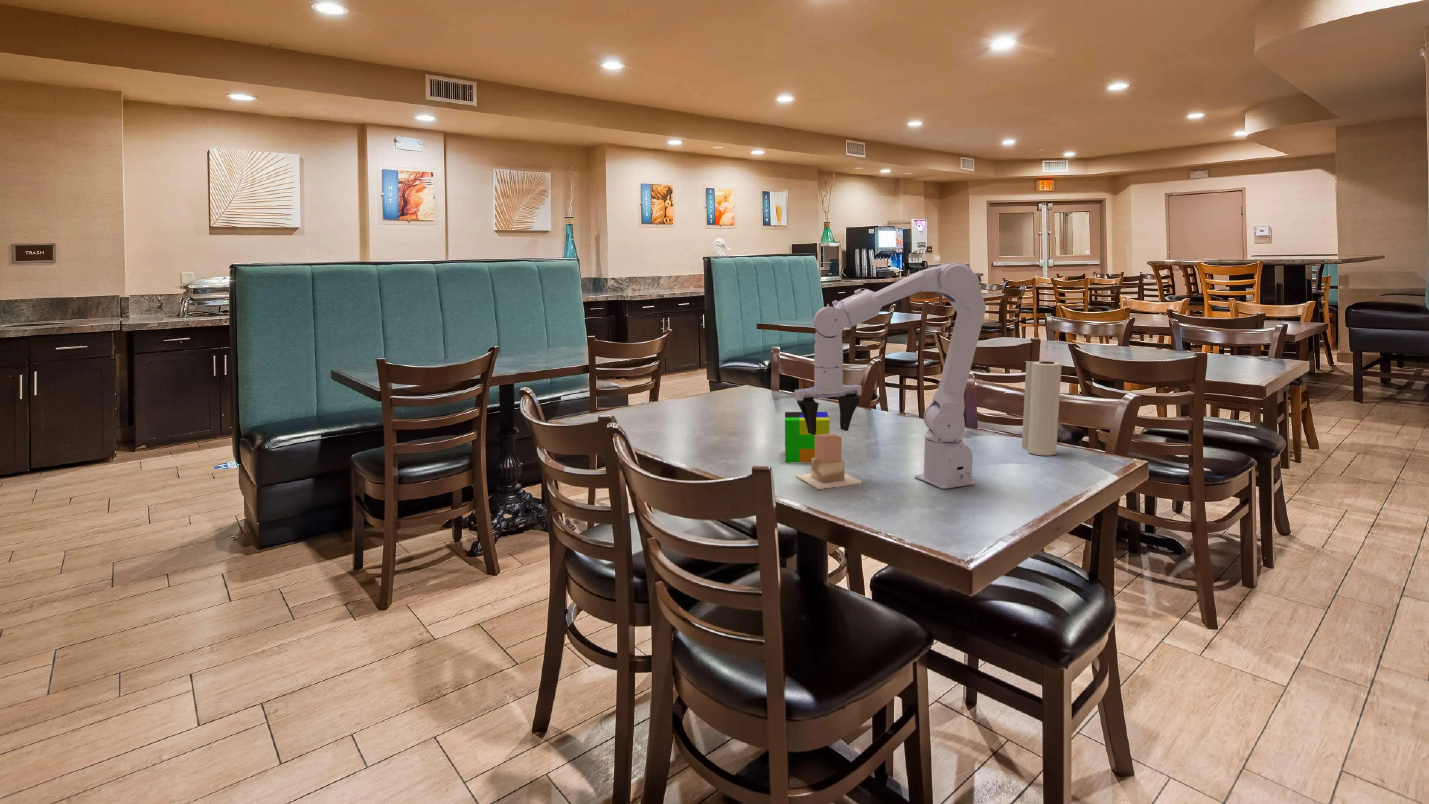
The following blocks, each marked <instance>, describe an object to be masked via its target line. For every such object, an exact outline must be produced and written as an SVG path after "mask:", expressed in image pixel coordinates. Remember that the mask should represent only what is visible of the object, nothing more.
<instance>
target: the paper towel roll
mask: <svg viewBox="0 0 1429 804" xmlns="http://www.w3.org/2000/svg"><path fill="white" fill-rule="evenodd" d="M1025 363H1026V364H1025V378H1024V379H1025V381H1024V382H1025V383H1024V398H1023V399H1024V400H1023V416H1022V436H1021V437H1022V438H1021V449H1024V450H1027V452H1028V453H1029V454H1031V455H1035V456H1054V455H1056V454H1057V446H1058V444H1057V443H1058V428H1059V411H1060V396H1061V394H1060V392H1061V380H1062V377H1061V376H1062V366H1063V365H1062V364H1063V363H1061V362H1058V361H1057V362H1055V361H1046V360H1045V361H1044V360H1042V361H1037V360H1036V361H1035V360H1034V361H1032V360H1031V361H1029V360H1028V361H1025Z"/></svg>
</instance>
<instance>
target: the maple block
mask: <svg viewBox="0 0 1429 804" xmlns="http://www.w3.org/2000/svg"><path fill="white" fill-rule="evenodd" d="M845 463H846V462H845V460H843V459H841V461H837V462H829V463H823V462H821V461H819V460H817V459H815V458H811V463H810V464H811V470H810V471H811V477H813V478H815V479H817V480H819V481H820V482H822V483H826V482H833V481H840V480H844V474H846V473H845V472H846V471H845Z"/></svg>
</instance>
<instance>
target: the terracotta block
mask: <svg viewBox="0 0 1429 804" xmlns="http://www.w3.org/2000/svg"><path fill="white" fill-rule="evenodd" d="M815 459H817V460H819V461H821V462H823V463H829V462H837V461H841V460H842V436H839V435H836V434H834V433H832V432H831V433H829V434H822V435H815Z"/></svg>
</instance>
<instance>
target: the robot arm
mask: <svg viewBox="0 0 1429 804" xmlns="http://www.w3.org/2000/svg"><path fill="white" fill-rule="evenodd" d="M979 280H980V279H979V276H978V275H977V274H976V273H975V271H973V270H972V268H971V267H970V266H969V265H967V264H966V263H964V262H944V263H941V264H939V265H937V266H932V267H929V268H928V267H927V268H926V269H922V270H919V271H916V272H914V273H912V274H910V275H908V276H906V277H904V278H902V279H900V280H897V281H896V282H894V283H891V284H890V285H888V286H886V287H885V286H884V288H881V289H879V290H877V291H873V290H870V289H868V288H866V289H864V290H862V289H861V288H859V289H855V290H854V292H853V293H854V294H853V295H850V296H847V297H845V298H843V299H841V300H839V301H838V300H837V299H836V300H833V301H832V302H831V303H832V305H833V306H824V307H822V308H820V309H818V311H817V312H816V313H815V315H814V317H813V320H812V325H813V327H814V329H815V334H814V341H815V343H814V345H813V346H814V349H813V350H814V351H813V352H814V353H813V354H814V357H813V359H814V360H813V363H814V367H813V369H814V372H813V374H814V376H813V377H814V378H813V379H814V386H812V387H807V388H801V389H800V388H799V389H795V390H794V400H796V402H797V405H798V407H799V409H800V410H801V411H800V412H802V413H803V415H804V418H805V421H806V425H807V429H808V433H810V434H812V435H815V434H816V417H817V412H818V409H819V405H820V404H819V402H817V401H816V400H815V399H822V398H823V399H825V398H832V397H834V398H835V397H837V401H838V407H839V427H840V430H841V431H843V432H844V431H845V432H849V430H850V424H851V420H852V419H853V415H854V412H855V410H856V409H857V407H858V405H859V404H860V402H861V397H860V396H862V389H863V388H862V387H863V386H862V385H860V384H843V383H844V382H843V381H844V380H843V379H844V377H843V376H844V374H843V373H844V369H843V368H844V344H843V331H844V329H845V328H848V329H850V328H852V327H854V326H857V325H859V324H861V323H865V321H869V320H870V319H873V318H875V317H877V316H878V315H879V313H880V312H881V309H882V307H884V306H886V305H889V304H891V303H894V302H896V301H899V300H901V299H903V298H906V297H909V296H912V295H913V294H916V293H918V292H932V293H933V292H934V293H938V294H940V295H941V296H942V297H943V298H945V299H946V300H948V302H949V304H950V305H951V306H952V307H953V310H955V311H956V317H955V322H954V324H953V329H952V333H951V337H950V341H949V345H948V349H947V352H946V357H945V360H944V364H943V367H942V368H943V369H942V372H941V373H942V374H941V375H940V376H941V378H940V380H939V385H938V388H937V390H936V391H935V393H934V395H932V396H933V397H932V400H931V403H930V404H929V405H928V407H927V408H925V411H924V413H923V422H924V424H925V426H926V427H927V428H928V429H927V432H926V433H925V435H924V455H923V456H924V459H923V460H924V461H923V462H924V463H923V464H924V465H923V473H921V474H920V473H919V474H915V475H914V478H915V479H918V480H920V481H923V482H925V483H928V484H930V485H932V486H934V487H938V488H939V489H942V490H944V489H951V488H957V487H958V488H960V487H964V486H971V485H976V483H975V482H976V481H974V480H972V478H973V477H972V476H973V453H972V449H971V448H970V447H969V446H968V445H966V444H965V443H964V441H963V434H964V431H965V428H966V423H965V418H964V417H965V416H964V413H965V408H966V407H965V406H966V404H965V396H964V395H965V393H966V392H965V391H966V388H967V383H968V379H969V376H970V372H971V368H972V365H973V360H974V357H975V352H976V349H977V344H978V340H979V338H980V334H981V330H982V326H983V321H984V318H985V314H986V308H987V306H986V303H985V300H984V296H983V293H982V290H981V287H980V284H979V283H980V282H979Z"/></svg>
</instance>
